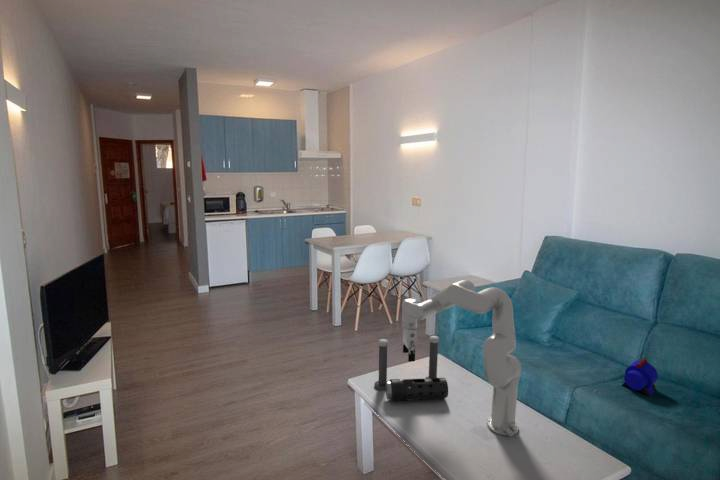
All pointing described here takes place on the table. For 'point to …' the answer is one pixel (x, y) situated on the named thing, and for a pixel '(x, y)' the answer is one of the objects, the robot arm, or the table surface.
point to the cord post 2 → (433, 357)
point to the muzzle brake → (416, 389)
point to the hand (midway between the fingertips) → (408, 356)
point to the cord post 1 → (382, 365)
